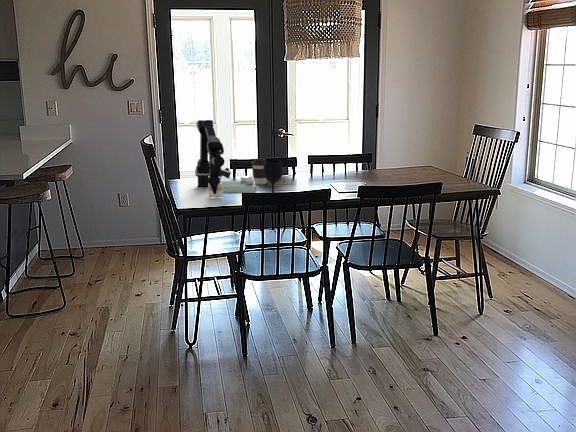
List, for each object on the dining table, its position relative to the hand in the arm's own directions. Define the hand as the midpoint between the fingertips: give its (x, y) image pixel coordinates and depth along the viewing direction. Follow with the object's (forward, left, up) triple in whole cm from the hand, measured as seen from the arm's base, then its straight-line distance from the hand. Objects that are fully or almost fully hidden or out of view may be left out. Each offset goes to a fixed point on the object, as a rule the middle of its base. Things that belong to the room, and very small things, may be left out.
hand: (215, 193), depth 334 cm
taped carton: (0, 0, -2) cm, 2 cm away
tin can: (+17, +16, -1) cm, 23 cm away
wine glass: (+31, -5, -2) cm, 31 cm away
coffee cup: (+24, +35, -2) cm, 42 cm away
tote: (+11, +16, -2) cm, 19 cm away
